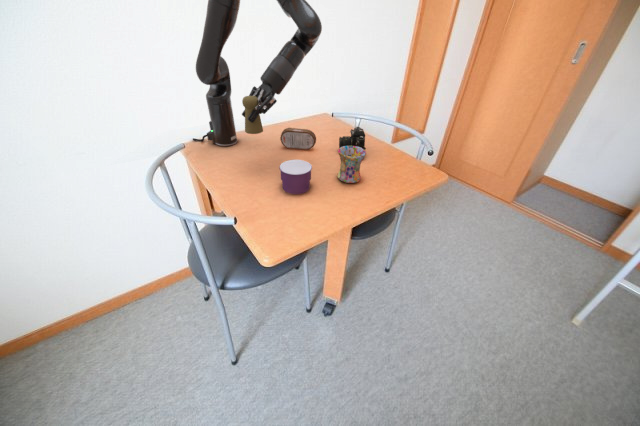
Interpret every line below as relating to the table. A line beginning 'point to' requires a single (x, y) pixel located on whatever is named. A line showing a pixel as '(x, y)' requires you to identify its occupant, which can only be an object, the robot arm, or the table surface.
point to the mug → (350, 163)
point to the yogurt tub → (295, 176)
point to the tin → (298, 138)
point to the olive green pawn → (249, 105)
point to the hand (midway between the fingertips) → (247, 118)
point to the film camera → (353, 139)
